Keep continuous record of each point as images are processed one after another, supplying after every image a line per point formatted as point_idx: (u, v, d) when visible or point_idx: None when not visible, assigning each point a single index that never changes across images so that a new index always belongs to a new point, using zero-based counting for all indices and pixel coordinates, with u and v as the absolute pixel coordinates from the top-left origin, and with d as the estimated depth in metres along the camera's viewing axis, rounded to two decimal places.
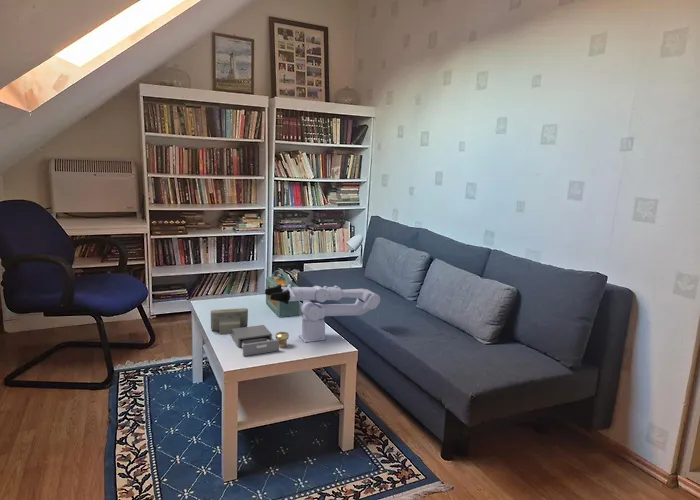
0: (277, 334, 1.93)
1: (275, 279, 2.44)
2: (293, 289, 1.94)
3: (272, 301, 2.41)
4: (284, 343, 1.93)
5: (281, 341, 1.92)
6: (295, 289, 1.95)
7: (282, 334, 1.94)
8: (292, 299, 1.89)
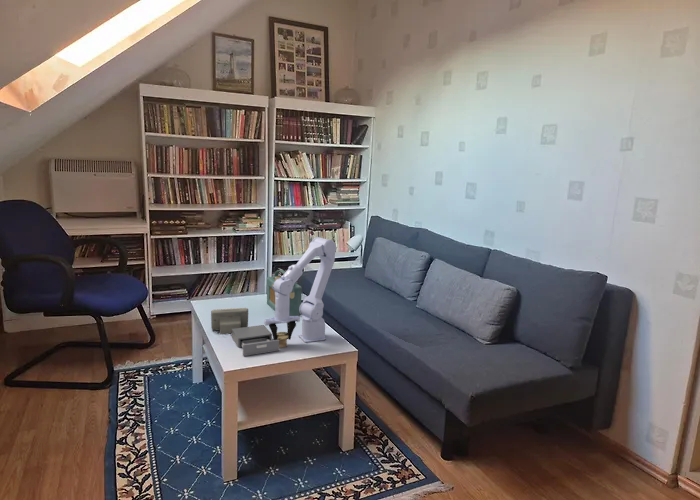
0: (277, 334, 1.93)
1: (276, 279, 2.44)
2: (287, 317, 1.91)
3: (274, 301, 2.41)
4: (284, 343, 1.93)
5: (281, 341, 1.92)
6: (287, 315, 1.91)
7: (282, 334, 1.94)
8: None
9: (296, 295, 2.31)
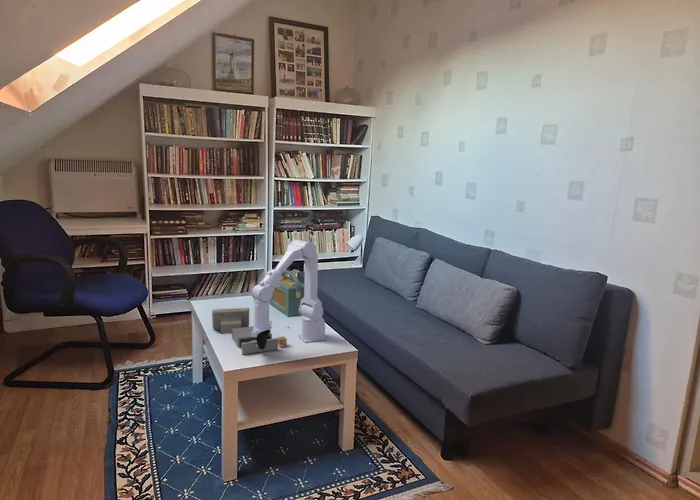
0: (252, 341, 1.91)
1: None
2: None
3: (278, 301, 2.42)
4: (284, 343, 1.93)
5: (281, 341, 1.92)
6: None
7: None
8: None
9: (301, 294, 2.32)
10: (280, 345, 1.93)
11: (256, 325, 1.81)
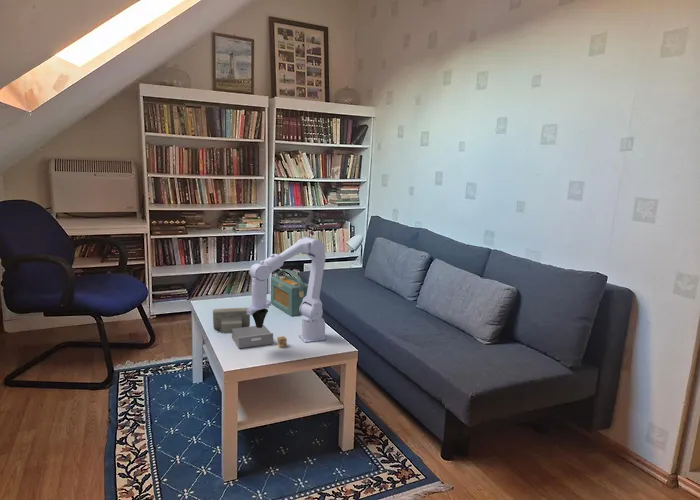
0: None
1: (281, 278, 2.45)
2: (266, 302, 1.86)
3: (280, 300, 2.43)
4: (284, 343, 1.93)
5: (281, 341, 1.92)
6: (266, 300, 1.85)
7: None
8: None
9: (304, 294, 2.33)
10: (280, 345, 1.93)
11: (253, 303, 1.83)
